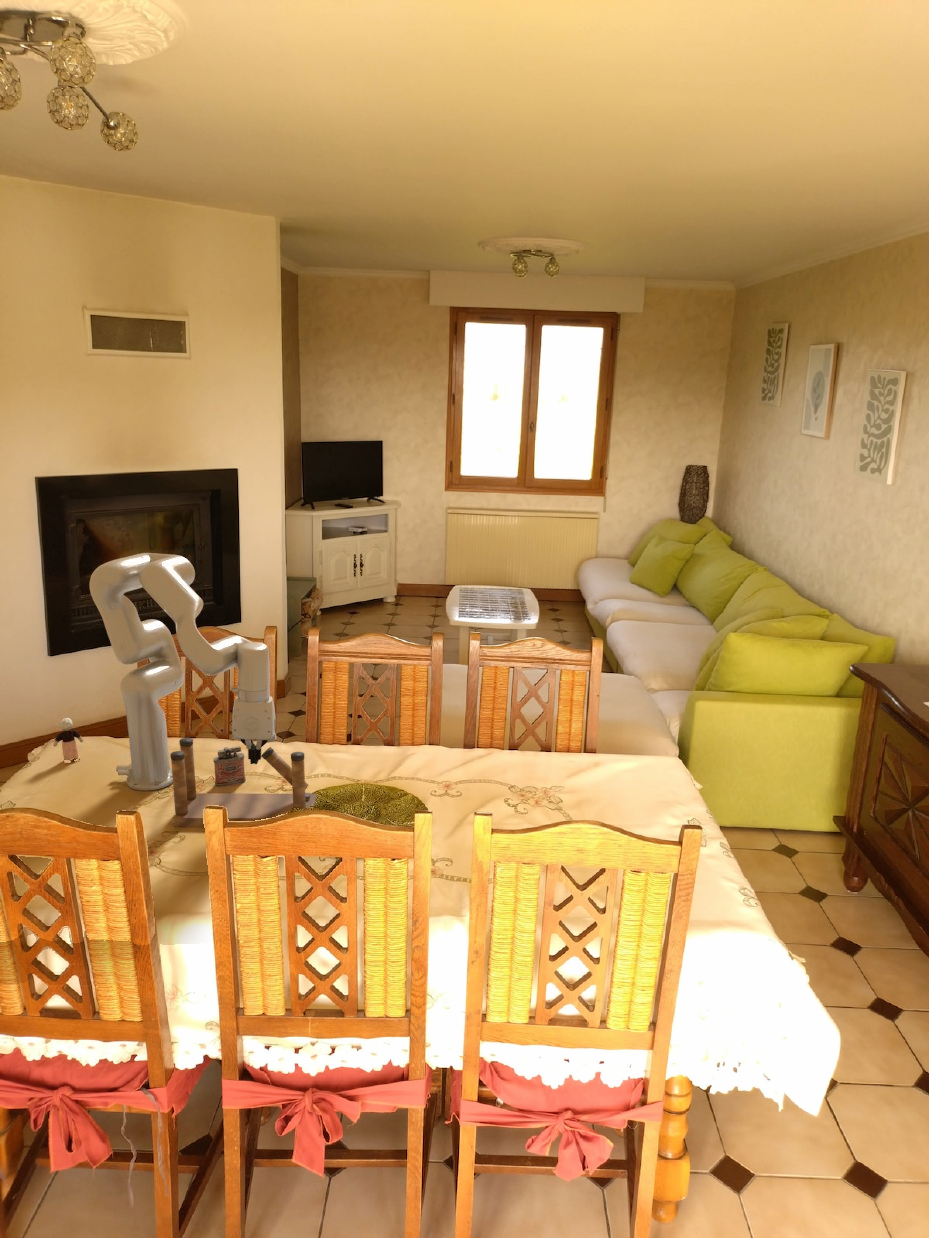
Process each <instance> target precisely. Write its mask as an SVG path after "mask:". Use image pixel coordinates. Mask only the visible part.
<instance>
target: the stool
mask: <svg viewBox="0 0 929 1238" xmlns="http://www.w3.org/2000/svg"><path fill="white" fill-rule="evenodd" d="M179 747H180V748H179V749H180V750H175V751H172V752H171V753H170V755H169V756H170V760H171V761H170V762H171V769H172V776H173V783H172V788H173V803H174V813H175V815H174V816H173V827H174V828H205V827H204V824H203V809H204V808H205V807H206V806H207V805H219V806H224V807H226V808H227V811H228V819H229V821H255V820H261V819H266V818H272V817H276V816H278V815H281V814H286V813H287V812H288V811H289V810H291V809H292V808H299V809H303V808H314V807H309V806H314V804H315V801H316V797H317V798H318V794H317V793H310V792H306V789H305V782H306V780H305V779H306V777H305V775H306V773H305V753H304V752H303V751H294V752H292V753H291V754H290V759H291V760H290V763H291V768H292V785H291V786H292V793H239V792H237V793H229V792H228V793H217V792H215V793H214V792H213V793H212V792H211V793H208V792H207V793H202V792H201V793H200V792H197V785H196V772H195V760H194V759H195V758H194V755H195V754H194V739H193V738H191V737H183V738H180V739H179Z"/></svg>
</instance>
